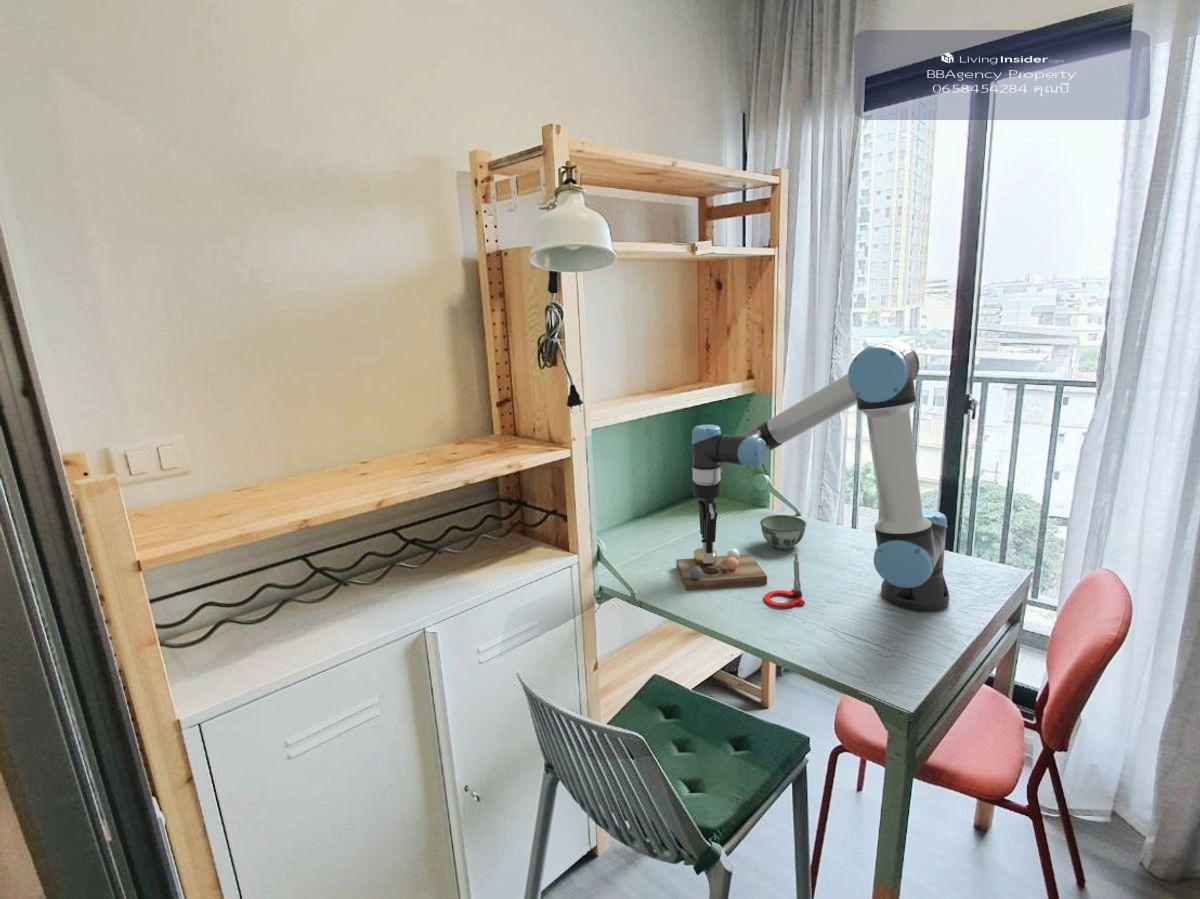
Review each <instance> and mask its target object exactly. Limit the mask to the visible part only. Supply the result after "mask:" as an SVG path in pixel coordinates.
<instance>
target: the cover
mask: <svg viewBox="0 0 1200 899" xmlns="http://www.w3.org/2000/svg"><path fill="white" fill-rule="evenodd" d="M717 553H718V552H717V550H715V549H714V548H713V563H703V547H701V548H697V549H695V550H693V558H694V561H695V562H696V563H698V564H701V565H710V564H714V563H715V562H716V561H717Z"/></svg>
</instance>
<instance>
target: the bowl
mask: <svg viewBox="0 0 1200 899" xmlns="http://www.w3.org/2000/svg"><path fill="white" fill-rule="evenodd" d="M759 521H760V522H759V524H760V526H761V532H762V536H763V537H764V539H765V541H767V542H768V544H770V545H771V546H772V547H773V548H774V549H776V550H780V551H790V550H793V547H794V546H796V545H797V544H799V543H800V542H801V541H802V539H803V537H804V535H805V531H806V527H807V522H806V521H805V520H804V519H803V518H800V517H797V516H793V515H787V514H786V515H785V514H778V515H777V514H775V515H769V516H765V517H763V518H762V519H760V520H759Z"/></svg>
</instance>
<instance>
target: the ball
mask: <svg viewBox="0 0 1200 899" xmlns="http://www.w3.org/2000/svg"><path fill="white" fill-rule="evenodd" d="M738 565H739V563H738V560H737V559H736V558H734V557H730V558H728V559H727V560H726V567H727V568H728V569H730V570H735V569H737V568H738Z"/></svg>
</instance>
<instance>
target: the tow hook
mask: <svg viewBox="0 0 1200 899" xmlns="http://www.w3.org/2000/svg"><path fill="white" fill-rule="evenodd" d="M793 554H794V559H793V574H794V575H793V576H794V580H793V589H791V590H779V589H778V590H771V591H769V592H767V593H765V594H764V596H763V602H764V603H765V604H766V605H767V606H769V607H773V608H775V609H790V608H792V607H795V606H797V605H800V606H804V605H805V604H806V602H805V600H804V599H803V591H801V590H802V589H801V588H802V587H801V586H802V585H801V580H800V562H799V558H798V557H799V555H798V554H799V553H798V552H796V551H795V552H794V553H793ZM775 596H783V597H785V596H786V597H788V598H791V600H790V601H788V602H787V601H786V602H776V601H774V600H772V598H773V597H775Z"/></svg>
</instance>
